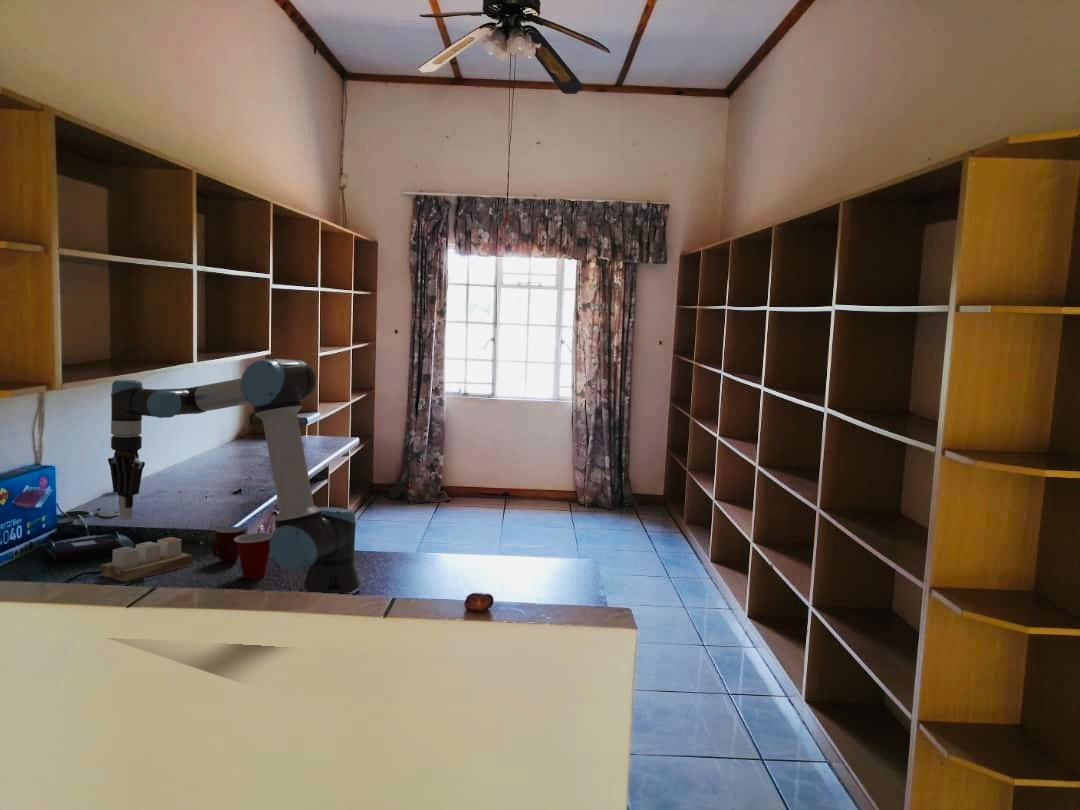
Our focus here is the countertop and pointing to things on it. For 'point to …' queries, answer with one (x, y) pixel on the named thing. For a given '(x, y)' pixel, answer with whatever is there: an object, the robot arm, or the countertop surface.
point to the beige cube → (170, 547)
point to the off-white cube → (125, 557)
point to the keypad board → (146, 568)
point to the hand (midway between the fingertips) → (125, 518)
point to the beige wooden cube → (148, 552)
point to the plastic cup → (253, 553)
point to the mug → (227, 543)
